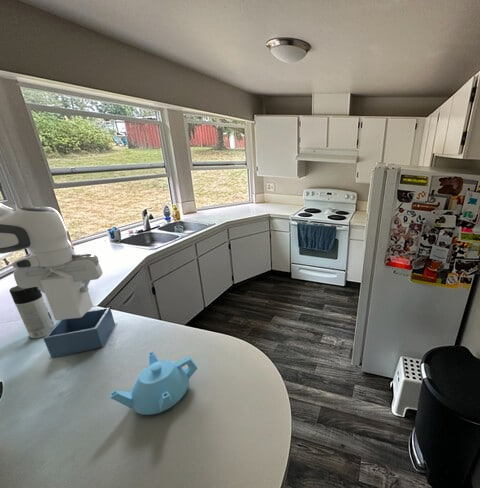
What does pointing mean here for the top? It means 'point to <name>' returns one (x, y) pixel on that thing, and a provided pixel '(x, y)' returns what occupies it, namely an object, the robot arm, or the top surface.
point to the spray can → (32, 310)
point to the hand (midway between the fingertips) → (68, 293)
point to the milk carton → (65, 296)
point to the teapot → (157, 386)
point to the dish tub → (80, 333)
